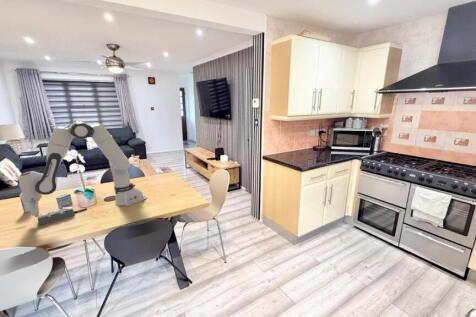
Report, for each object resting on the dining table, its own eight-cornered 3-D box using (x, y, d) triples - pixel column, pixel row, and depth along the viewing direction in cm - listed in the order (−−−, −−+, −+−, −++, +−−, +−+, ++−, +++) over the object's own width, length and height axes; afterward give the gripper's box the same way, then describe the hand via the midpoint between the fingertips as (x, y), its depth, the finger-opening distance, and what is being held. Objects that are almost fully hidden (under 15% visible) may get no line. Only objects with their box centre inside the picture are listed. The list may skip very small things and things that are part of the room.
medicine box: (62, 208, 167) (59, 198, 165) (58, 207, 169) (55, 197, 166) (72, 204, 174) (70, 194, 172) (69, 203, 176) (66, 193, 173)
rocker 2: (60, 210, 155) (59, 208, 154) (61, 212, 152) (59, 210, 152) (51, 214, 152) (50, 212, 151) (52, 216, 150) (50, 214, 149)
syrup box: (27, 209, 167) (22, 191, 163) (37, 207, 169) (32, 190, 165) (23, 212, 162) (18, 194, 158) (34, 211, 164) (29, 192, 160)
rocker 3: (71, 208, 159) (71, 206, 159) (72, 210, 157) (72, 208, 157) (62, 209, 156) (62, 207, 156) (63, 211, 153) (63, 209, 153)
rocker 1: (48, 214, 151) (47, 211, 150) (48, 216, 148) (47, 213, 148) (38, 217, 148) (37, 214, 147) (38, 219, 145) (37, 217, 144)
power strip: (85, 207, 168) (84, 202, 167) (87, 211, 163) (86, 206, 162) (38, 220, 151) (37, 215, 150) (39, 225, 145) (37, 219, 144)
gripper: (39, 200, 137) (43, 220, 140) (38, 190, 151) (42, 209, 155) (25, 203, 133) (30, 224, 136) (25, 192, 147) (30, 211, 151)
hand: (36, 216), depth 146 cm, fingers closed, pressing on rocker 1
